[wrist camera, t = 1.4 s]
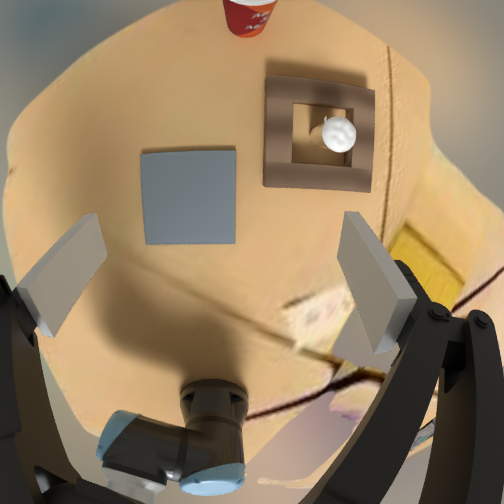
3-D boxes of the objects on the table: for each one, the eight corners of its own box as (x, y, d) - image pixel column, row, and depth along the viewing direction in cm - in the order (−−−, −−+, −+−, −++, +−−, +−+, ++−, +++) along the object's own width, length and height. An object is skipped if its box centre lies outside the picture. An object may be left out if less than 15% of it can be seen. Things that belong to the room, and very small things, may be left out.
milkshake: (312, 112, 37) (336, 102, 28) (339, 134, 38) (369, 132, 29) (294, 134, 38) (314, 130, 29) (322, 157, 39) (348, 160, 30)
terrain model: (437, 413, 73) (441, 418, 70) (446, 419, 77) (449, 424, 74) (396, 444, 77) (399, 450, 74) (409, 447, 82) (411, 453, 79)
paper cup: (261, 49, 33) (276, 8, 20) (212, 35, 32) (205, -9, 18) (278, 13, 30) (297, -34, 17) (231, -1, 29) (232, -50, 16)
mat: (234, 242, 43) (234, 244, 43) (146, 243, 42) (145, 244, 42) (235, 150, 38) (235, 150, 38) (141, 154, 37) (140, 154, 37)
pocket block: (362, 189, 42) (370, 192, 39) (262, 184, 40) (265, 187, 38) (366, 93, 36) (374, 90, 33) (265, 79, 35) (267, 74, 32)
